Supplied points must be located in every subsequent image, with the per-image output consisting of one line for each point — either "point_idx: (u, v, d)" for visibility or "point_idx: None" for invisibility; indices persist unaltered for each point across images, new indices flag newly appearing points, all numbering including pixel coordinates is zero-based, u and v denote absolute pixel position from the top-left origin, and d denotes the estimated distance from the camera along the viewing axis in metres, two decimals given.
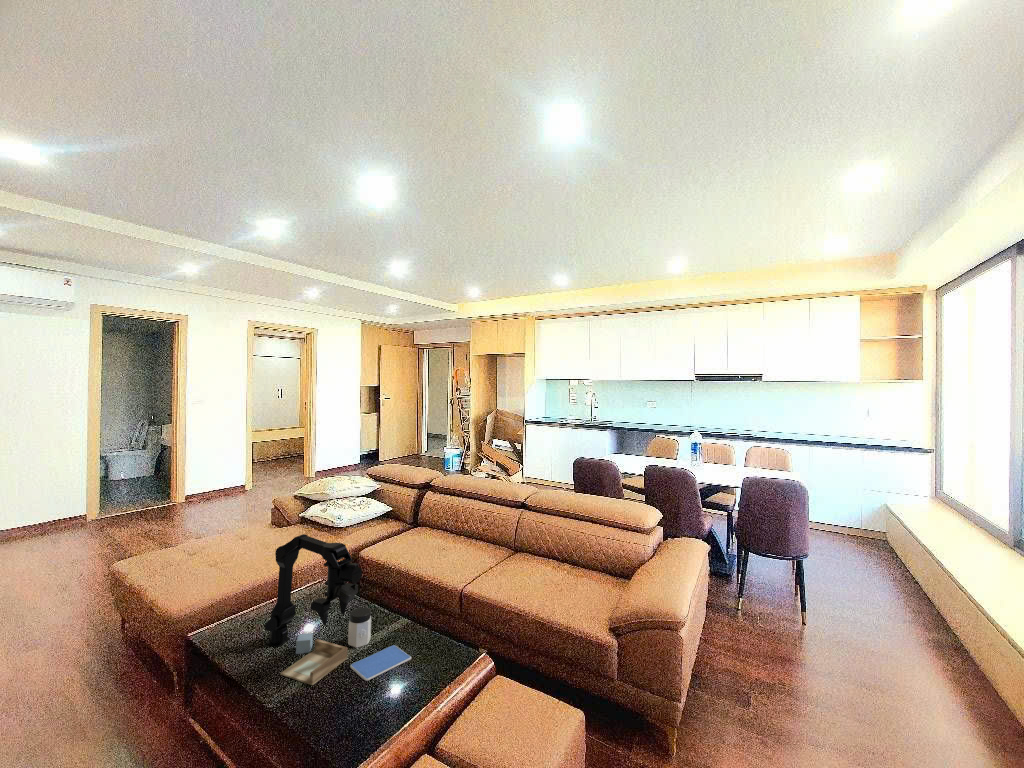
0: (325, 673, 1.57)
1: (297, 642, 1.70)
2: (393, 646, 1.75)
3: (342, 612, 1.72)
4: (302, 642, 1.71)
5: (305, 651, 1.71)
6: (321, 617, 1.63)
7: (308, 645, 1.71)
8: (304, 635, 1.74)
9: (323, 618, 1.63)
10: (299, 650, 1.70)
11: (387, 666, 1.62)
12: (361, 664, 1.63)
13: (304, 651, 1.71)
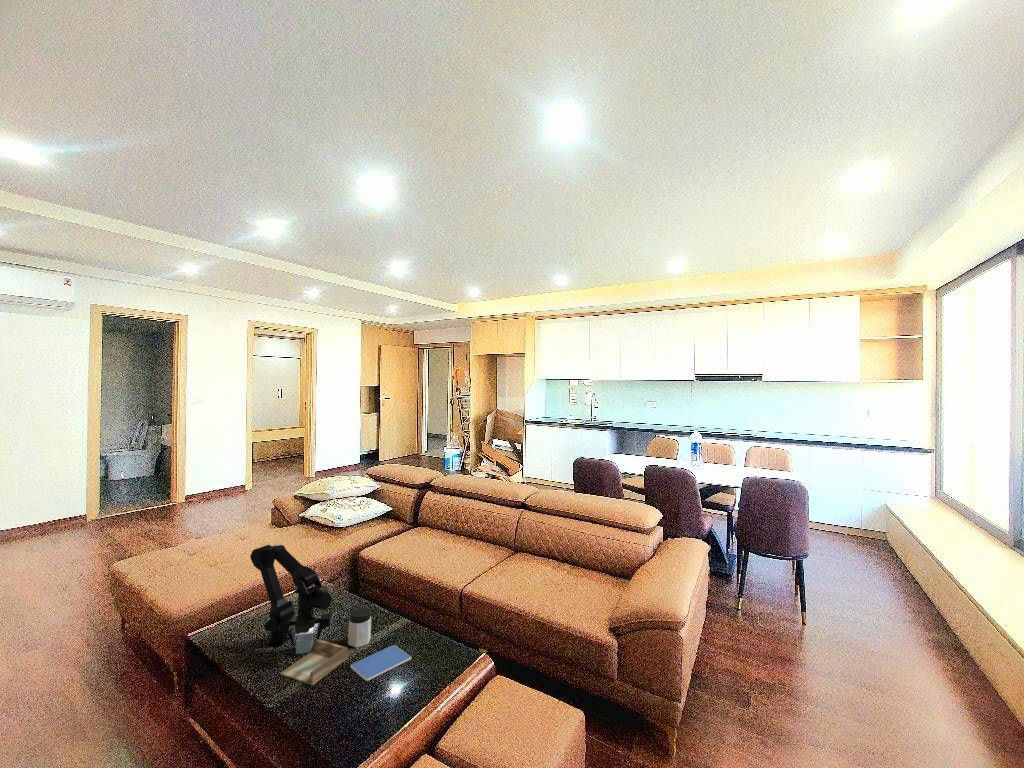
0: (325, 673, 1.57)
1: (297, 642, 1.70)
2: (393, 646, 1.75)
3: None
4: (302, 642, 1.71)
5: (305, 651, 1.71)
6: None
7: (308, 645, 1.71)
8: (304, 635, 1.74)
9: None
10: (299, 650, 1.70)
11: (387, 666, 1.62)
12: (361, 664, 1.63)
13: (304, 651, 1.71)
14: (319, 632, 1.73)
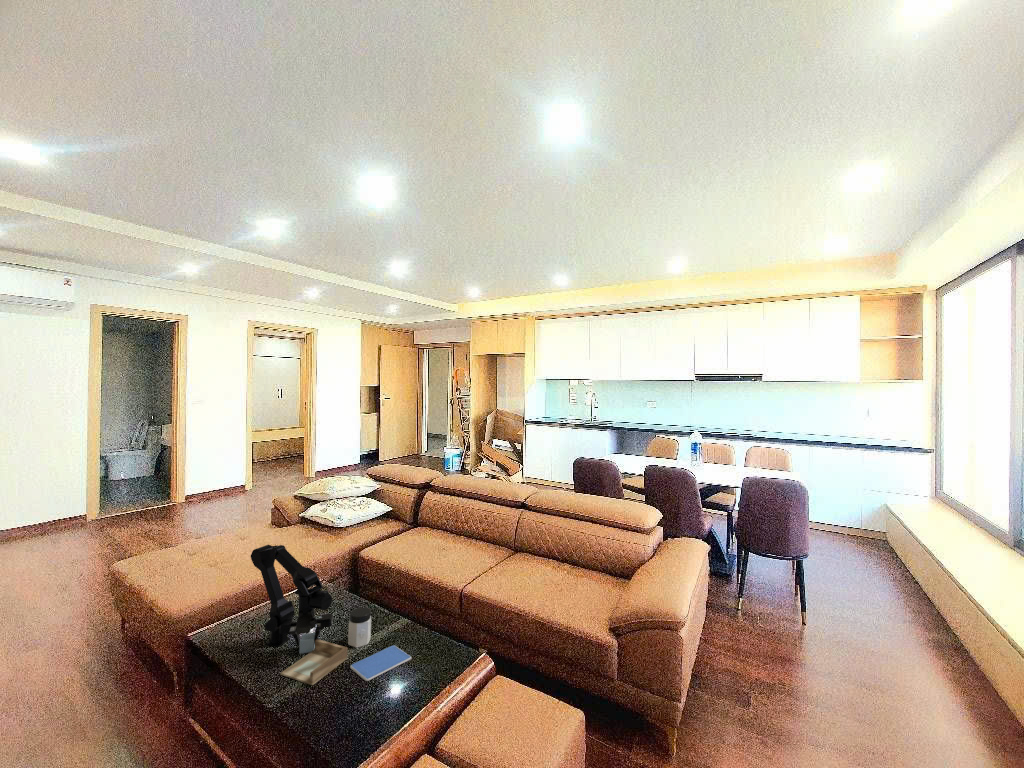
0: (325, 673, 1.57)
1: (300, 642, 1.70)
2: (393, 646, 1.75)
3: None
4: (306, 641, 1.71)
5: (308, 650, 1.71)
6: None
7: (311, 644, 1.71)
8: (307, 635, 1.74)
9: None
10: (302, 650, 1.71)
11: (387, 666, 1.62)
12: (361, 664, 1.63)
13: (307, 650, 1.71)
14: (317, 633, 1.73)
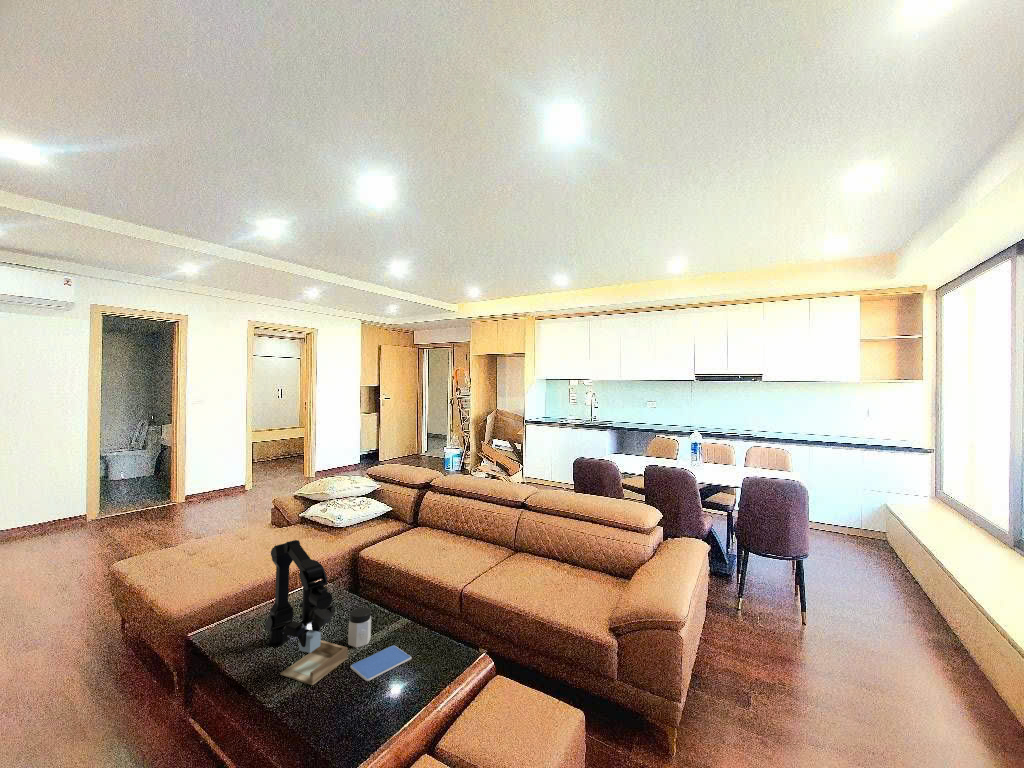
0: (325, 673, 1.57)
1: (311, 639, 1.58)
2: (393, 646, 1.75)
3: None
4: (315, 637, 1.60)
5: (317, 646, 1.61)
6: (299, 639, 1.58)
7: (319, 638, 1.62)
8: None
9: (301, 640, 1.57)
10: (312, 647, 1.59)
11: (387, 666, 1.62)
12: (361, 664, 1.63)
13: (316, 646, 1.60)
14: None
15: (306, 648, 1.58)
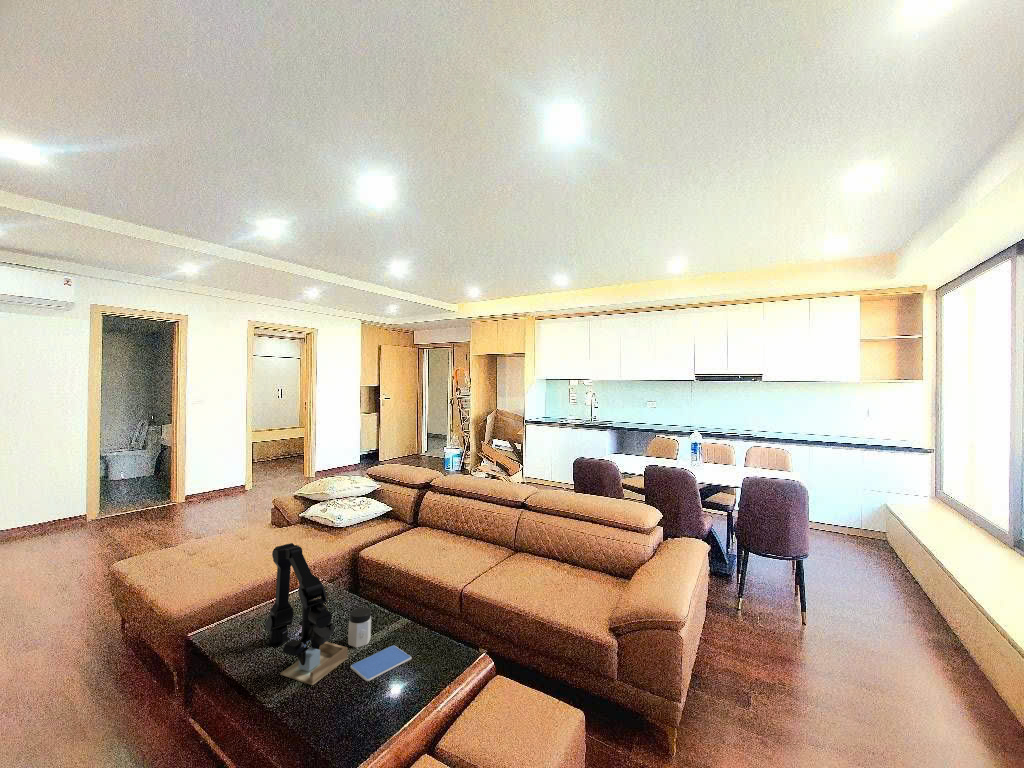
0: (325, 673, 1.57)
1: (310, 658, 1.58)
2: (393, 646, 1.75)
3: None
4: (314, 655, 1.59)
5: (316, 664, 1.60)
6: (299, 657, 1.57)
7: (318, 656, 1.61)
8: (306, 651, 1.61)
9: (301, 658, 1.57)
10: (312, 665, 1.58)
11: (387, 666, 1.62)
12: (361, 665, 1.63)
13: (315, 664, 1.60)
14: None
15: (305, 666, 1.58)
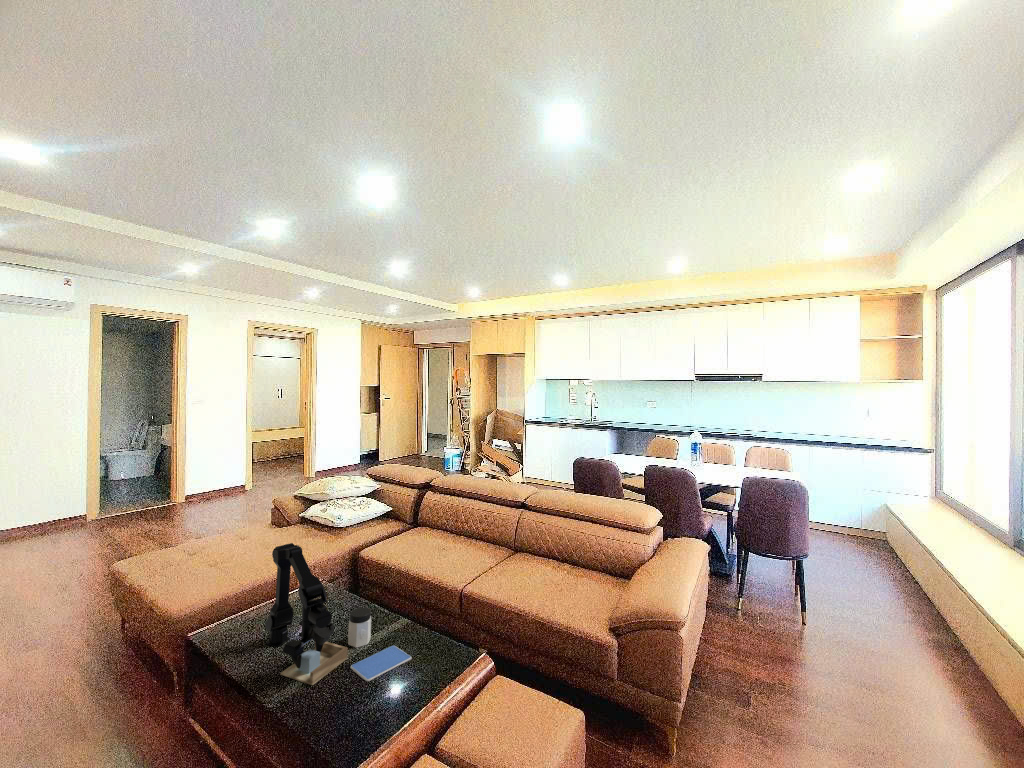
0: (325, 673, 1.57)
1: (310, 660, 1.58)
2: (393, 646, 1.75)
3: None
4: (314, 657, 1.59)
5: (316, 666, 1.60)
6: (294, 660, 1.56)
7: (318, 658, 1.61)
8: (306, 653, 1.61)
9: (296, 661, 1.55)
10: (311, 667, 1.58)
11: (388, 666, 1.62)
12: (361, 665, 1.63)
13: (315, 666, 1.60)
14: None
15: (305, 668, 1.58)
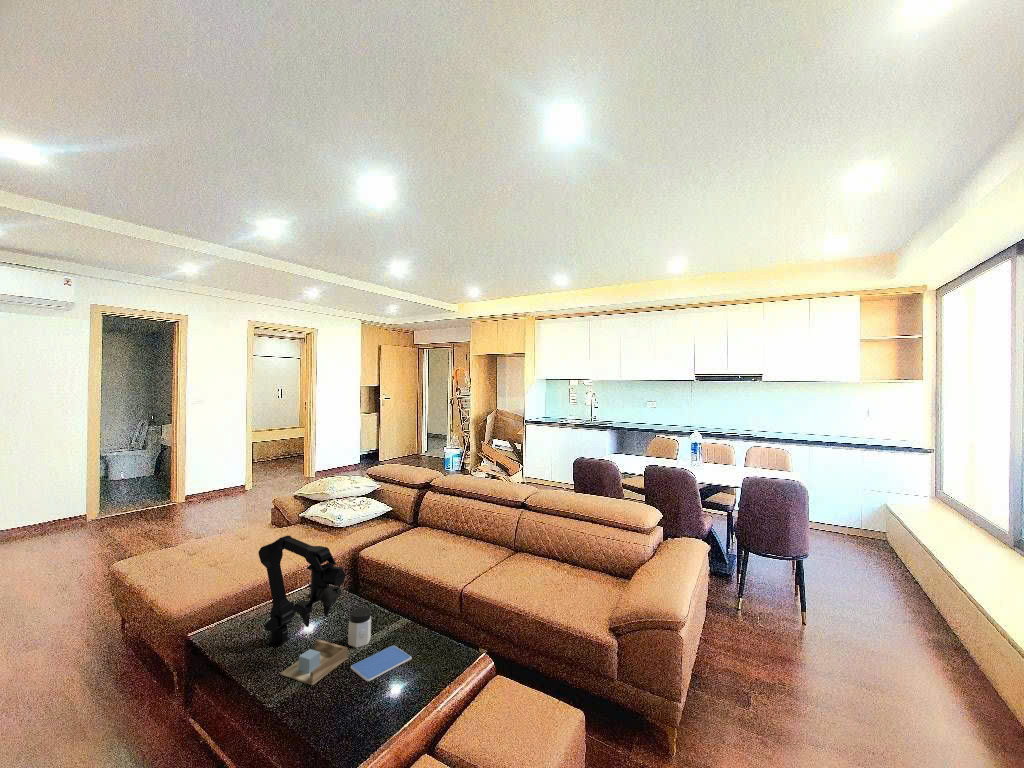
0: (325, 673, 1.57)
1: (310, 660, 1.58)
2: (393, 646, 1.75)
3: (325, 614, 1.76)
4: (314, 657, 1.59)
5: (316, 666, 1.60)
6: (303, 619, 1.67)
7: (318, 658, 1.61)
8: (306, 653, 1.61)
9: (305, 620, 1.67)
10: (311, 667, 1.58)
11: (388, 666, 1.62)
12: (361, 665, 1.63)
13: (315, 666, 1.60)
14: (331, 604, 1.77)
15: (305, 668, 1.58)
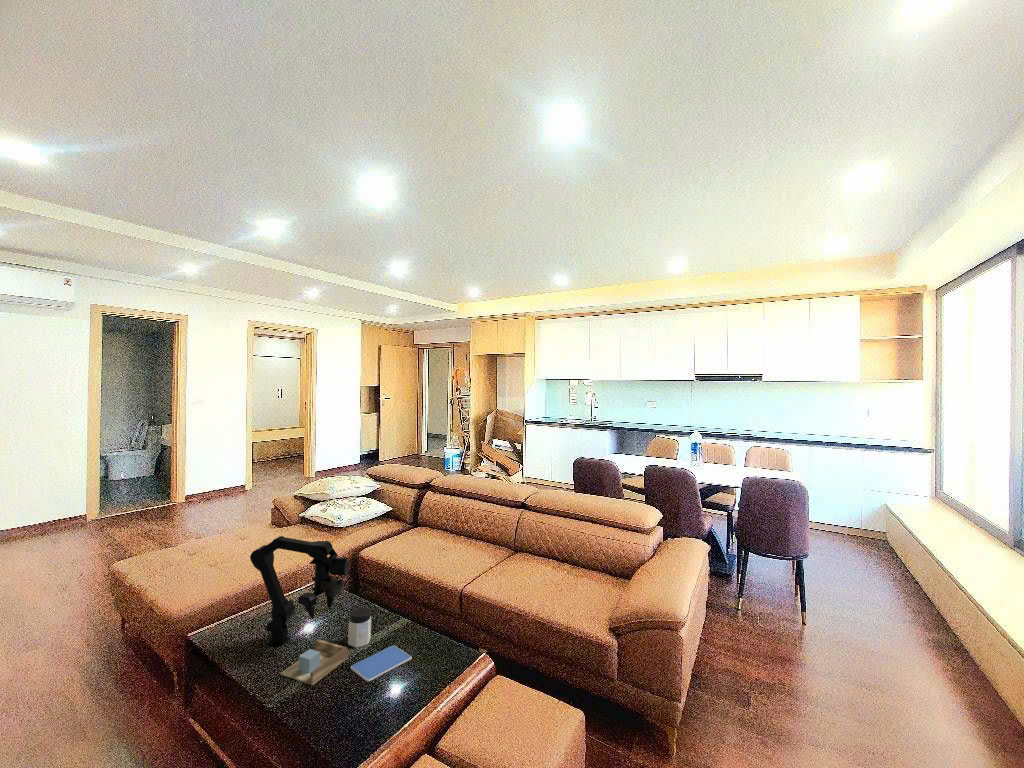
0: (325, 673, 1.57)
1: (310, 660, 1.58)
2: (393, 646, 1.75)
3: (329, 606, 1.82)
4: (314, 657, 1.59)
5: (316, 666, 1.60)
6: (308, 611, 1.73)
7: (318, 658, 1.61)
8: (306, 653, 1.61)
9: (310, 611, 1.73)
10: (311, 667, 1.58)
11: (388, 666, 1.62)
12: (361, 665, 1.63)
13: (315, 666, 1.60)
14: (334, 596, 1.83)
15: (305, 668, 1.58)
